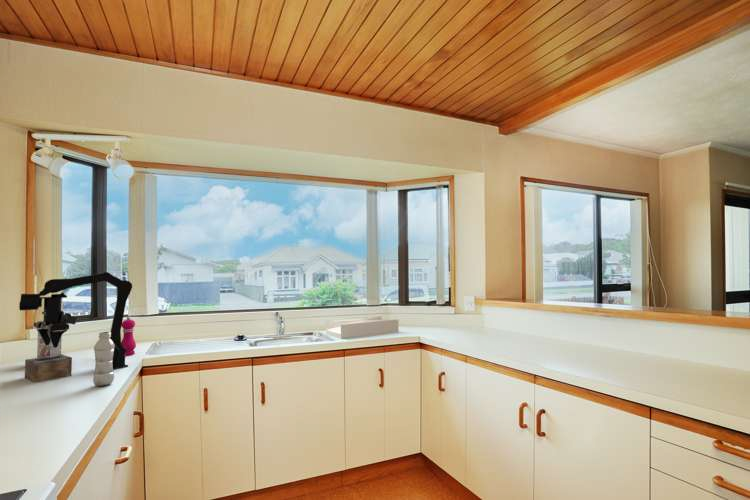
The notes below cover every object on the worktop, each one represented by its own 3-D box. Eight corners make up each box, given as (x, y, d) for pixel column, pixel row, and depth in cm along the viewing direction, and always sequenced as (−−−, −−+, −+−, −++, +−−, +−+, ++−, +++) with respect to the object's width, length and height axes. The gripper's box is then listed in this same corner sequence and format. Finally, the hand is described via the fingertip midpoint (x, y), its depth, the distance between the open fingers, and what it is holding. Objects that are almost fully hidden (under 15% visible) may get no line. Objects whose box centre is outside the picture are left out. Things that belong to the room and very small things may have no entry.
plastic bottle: (118, 383, 149) (119, 331, 150) (100, 388, 142) (102, 334, 143) (106, 382, 151) (107, 330, 152) (88, 387, 144) (90, 333, 145)
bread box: (340, 339, 244) (340, 324, 244) (326, 334, 262) (326, 320, 263) (398, 333, 267) (398, 319, 268) (381, 329, 286) (381, 316, 287)
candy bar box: (35, 364, 181) (37, 329, 182) (48, 362, 186) (49, 327, 187) (48, 366, 177) (50, 330, 178) (61, 364, 181) (62, 329, 182)
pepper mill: (127, 356, 196) (128, 317, 197) (115, 356, 198) (117, 317, 199) (139, 353, 203) (140, 315, 205) (127, 353, 205) (128, 315, 206)
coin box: (60, 371, 167) (61, 354, 168) (71, 375, 161) (71, 357, 161) (24, 378, 157) (25, 359, 158) (34, 382, 151) (35, 363, 151)
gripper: (84, 308, 163) (83, 345, 162) (67, 306, 173) (66, 341, 172) (51, 310, 154) (50, 350, 153) (35, 308, 164) (34, 345, 163)
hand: (51, 346), depth 161 cm, fingers open, 9 cm apart
